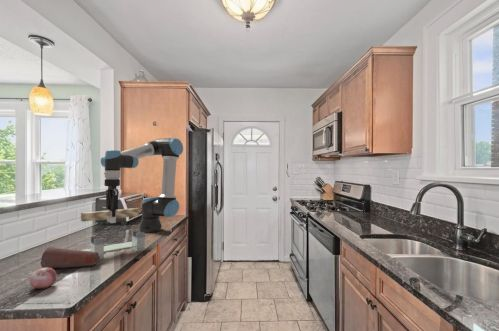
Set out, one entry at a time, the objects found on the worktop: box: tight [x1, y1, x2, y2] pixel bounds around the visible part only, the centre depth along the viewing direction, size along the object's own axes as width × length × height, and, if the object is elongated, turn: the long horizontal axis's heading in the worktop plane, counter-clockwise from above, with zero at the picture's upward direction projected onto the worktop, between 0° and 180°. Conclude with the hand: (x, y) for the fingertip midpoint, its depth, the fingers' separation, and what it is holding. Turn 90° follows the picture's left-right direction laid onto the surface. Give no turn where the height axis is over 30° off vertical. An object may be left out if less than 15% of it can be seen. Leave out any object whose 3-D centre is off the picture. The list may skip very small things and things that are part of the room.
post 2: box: [131, 229, 146, 253], centre depth 149 cm, size 4×7×10 cm, turn 44°
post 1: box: [89, 235, 105, 260], centre depth 135 cm, size 4×7×10 cm, turn 44°
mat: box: [81, 241, 132, 253], centre depth 150 cm, size 32×10×1 cm, turn 133°
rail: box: [80, 207, 140, 222], centre depth 150 cm, size 28×4×4 cm, turn 133°
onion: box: [29, 267, 58, 290], centre depth 101 cm, size 8×8×7 cm
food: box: [40, 246, 101, 269], centre depth 123 cm, size 21×9×9 cm, turn 104°
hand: (111, 222), depth 150 cm, fingers closed on rail, 4 cm apart
